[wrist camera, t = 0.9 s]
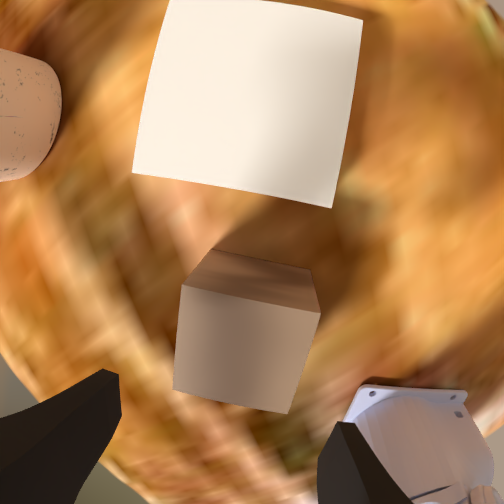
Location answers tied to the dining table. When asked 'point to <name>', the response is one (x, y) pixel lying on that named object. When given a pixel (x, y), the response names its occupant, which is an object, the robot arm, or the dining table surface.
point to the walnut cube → (244, 331)
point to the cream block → (250, 97)
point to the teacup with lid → (26, 113)
